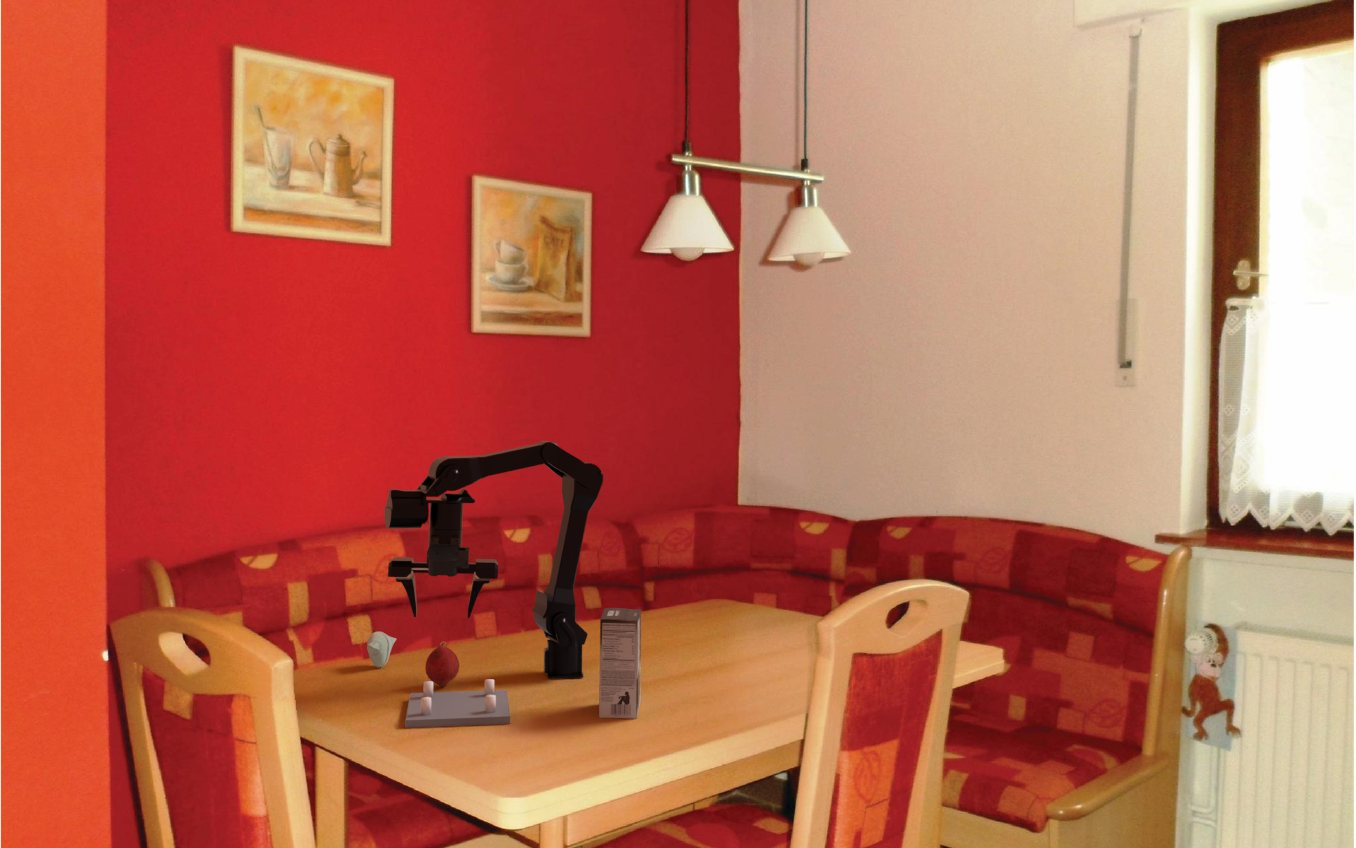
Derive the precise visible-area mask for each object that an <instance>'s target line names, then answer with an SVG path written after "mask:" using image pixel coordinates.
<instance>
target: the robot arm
mask: <svg viewBox="0 0 1356 848" xmlns="http://www.w3.org/2000/svg"><path fill="white" fill-rule="evenodd" d="M540 465H545V467H547V468H548V469H549V470H551V472H552V473H554V474H556V475H557V476H559V477H560V478H561V495H562V502H563V512H562V518H561V523H560V527H559V533H558V538H557V542H556V548H555V553H554V557H553V562H552V569H551V574H550V578H549V582H548V583H547V586H546V587H545V589H544V591H541V590H536V593H535V602H534V606H533V608H532V610H531V612H532V613H534V618H533V619H534V622H535V624H536V625H537V627H538V628H540V629H541V630H542V631H543V634H544V636H545V638H546V639H547V640H546V647H545V648H544V649H543V671H544V674H546V675H547V676H546V677H547V678H548V679H571V678H572V679H576V678H584V672H583V645H585V643H586V642H587V641H586V640H587V638H588V635H589V634H588V632H587V631H586V630H585V629H583V628H582V627H581V625H579V624H578V623H577V621H576V616H577V615H576V613H577V605H576V598H575V587H574V586H575V582H576V575H577V572H578V571H577V570H578V565H579V561H580V556H581V552H582V546H583V540H584V537H585V531H586V526H587V519H588V515H589V513H590V510H591V509H592V507H593V506H594V504H595V503H596V501H597V499H598V497H599V494H600V492H601V489H602V487H603V483H604V473H603V472H602V470H601V468H600V467H599V466H598V465H596V464H595V463H592V462H585V461H583V460H581V459H579V458H578V457H577V456H574V455H573V454H571V453H570V452H568V451H566V450H565V449H563V448H561V447H560V446H559V445H558V444H557V443H555V442H553V441H549V440H548V441H547V440H541V441H539V442H536V443H533V444H529V445H524V446H519V447H514V448H510V449H505V450H499V451H494V452H489V453H486V454H482V455H481V454H479V455H448V456H445V455H444V456H440V457H436V458H435V459H434V460H433V461H432V462H431V464H430V465H429V468H428V475H426V477H425V478H424V479H423V480H422V482H421V483H420V484H419V485H418V487H417V488H416V490H414V489H407V490H406V489H405V490H403V489H398V488H389V489H388V496H387V498H386V502H385V503H386V504H385V506H384V525H385V527H386V529H388V530H390V529H391V530H394V529H395V530H396V529H406V530H407V529H414V530H415V529H416V530H417V529H421V528H422V526H423V525H426V523H429V524H428V525H429V526H428V546H427V547H428V548H427V550H426V562H422V561H421V562H419V561H416V562H415V561H414V557H408V556H407V557H402V556H399V557H398V556H397V557H395V556H393V558H392V559H390V560H389V562H388V569H387V577H389V578H395V582H396V583H401V585H402V586H403V588H404V590H405V591H406V592H405V593H406V594H407V597H408V601H409V605H410V608H411V611H412V612H411V613H412V615H413V617H414V618H417V614H418V601H417V588H416V575H415V573H417V574H419V573H420V574H428V575H429V576H430V577H438V576H446V577H450V578H452V577H456V576H457V575H458V574H461V575H462V574H465V575H466V574H469V575H472V574H473V578H472V583H471V590H470V594H469V601H468V605H467V618H470V617H471V615H472V613H473V609H474V608H475V604H476V601H477V599H478V596H479V594H480V592H481V590H482V588H483V586H484V585H486V584H487V585H488V584H491V580H497V579H498V577H499V562H498V561H497V560H496V559H495V558H494V559H493V558H492V559H491V558H476V559H475V562H474V563H472V562H470V547H462V546H463V545H462V542H463V520H464V519H463V518H464V504H475V503H476V499H475V498H474V497H473V496H471V495H470V493H469V491H468V490H467V489H465V487H469V486H471V485H473V484H474V483H477V482H478V481H481V480H482V479H486V478H487V477H490V476H494V475H499V474H504V473H508V472H509V473H510V472H513V471H517V470H522V469H527V468H532V467H536V466H540ZM458 490H460V491H459V492H456V493H452V492H454V491H458ZM447 491H449V493H448V492H447ZM439 497H440V498H439ZM428 520H429V522H428Z"/></svg>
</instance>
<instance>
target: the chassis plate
mask: <svg viewBox="0 0 1356 848" xmlns="http://www.w3.org/2000/svg"><path fill="white" fill-rule="evenodd" d="M422 689H423V691H422V692H411V693H410V694H409V700H408V703H407V704H408V705H407V709H406V716H405V722H404V723H405V724H404V725H405V727H404V728H405V729H411V728H413V729H417V728H437V727H439V728H441V727H463V726H466V727H467V726H485V725H487V726H489V725H490V726H491V725H493V726H494V725H511V711H510V704H509V703H510V702H509V696H508V690H507V689H496V690H495V679H493V678H488V679H484V690H469V691H468V690H462V691H461V690H460V691H438V692H437V691H434V682H433V681H431V680H426V681H423V688H422Z"/></svg>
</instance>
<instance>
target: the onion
mask: <svg viewBox="0 0 1356 848" xmlns="http://www.w3.org/2000/svg"><path fill="white" fill-rule="evenodd" d="M447 645H448V642H447V641H441V642H440V644H438V646H437V647H436V648H435V649H433V650H432V652H430V653H429V655H428V656H427V658H426V662H425V665H424V666H425V667H424V668H425V669H424V670H425V674H426V676H427V677H428V679H429V681H433V684H435V685H437V686H438V687H440V688H445V687H446V686H447V685H448V684H449V683H450V682H451V681H453V680H454V679H455V678H456V677H457V675H458V673H459V670H460V661H459V658H458V656H457V654H456V653H455V652H454V650H452V649H451V648H449V647H448V646H447Z"/></svg>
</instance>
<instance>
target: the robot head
mask: <svg viewBox="0 0 1356 848" xmlns="http://www.w3.org/2000/svg"><path fill="white" fill-rule="evenodd" d="M396 641H397V638H395V637H392V636H390V635H388V634H386V633H384V632H383V631H375V632H373V633H371V635H370V636H369V637H368V638H367V643H366V650H367V652H368V656H369V659H370V661H371V663H372V664H373V665H374V666H375V667H376V668H380V667H381V668H382V667H384V666H385V665H386V664H387V663H388V661H389V658H390V654H391V652H392V648H393V646H394V643H395V642H396Z"/></svg>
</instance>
